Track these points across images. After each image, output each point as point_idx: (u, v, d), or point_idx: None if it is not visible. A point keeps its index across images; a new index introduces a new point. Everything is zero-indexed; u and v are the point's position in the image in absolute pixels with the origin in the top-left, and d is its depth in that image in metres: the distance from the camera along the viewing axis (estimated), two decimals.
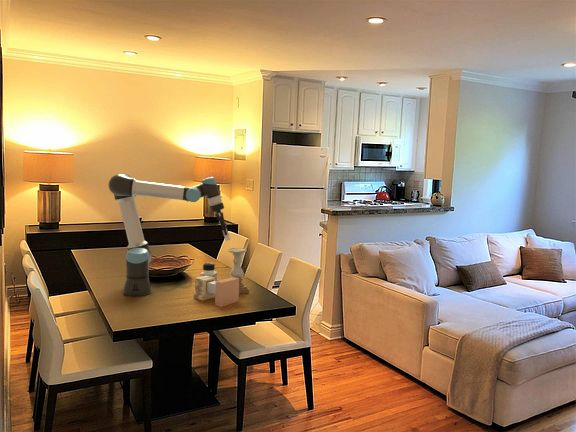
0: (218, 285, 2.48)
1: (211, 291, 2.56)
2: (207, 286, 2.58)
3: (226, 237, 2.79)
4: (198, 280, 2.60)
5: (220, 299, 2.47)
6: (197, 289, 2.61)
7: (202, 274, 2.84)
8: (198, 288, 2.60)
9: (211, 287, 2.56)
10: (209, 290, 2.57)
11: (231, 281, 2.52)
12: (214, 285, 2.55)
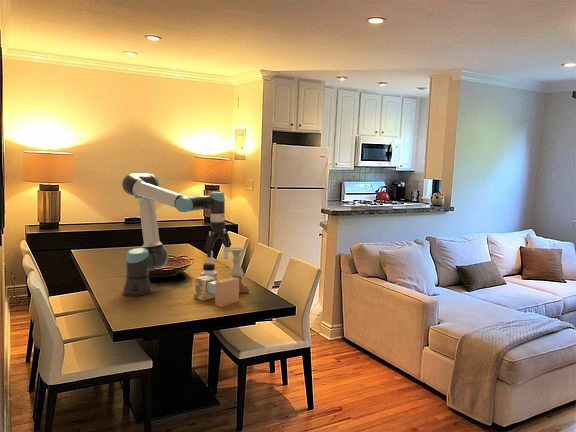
0: (218, 285, 2.48)
1: (211, 291, 2.56)
2: (207, 286, 2.58)
3: (209, 259, 2.55)
4: (198, 280, 2.60)
5: (220, 299, 2.47)
6: (197, 289, 2.61)
7: (202, 274, 2.84)
8: (198, 288, 2.60)
9: (211, 287, 2.56)
10: (209, 290, 2.57)
11: (231, 281, 2.52)
12: (214, 285, 2.55)
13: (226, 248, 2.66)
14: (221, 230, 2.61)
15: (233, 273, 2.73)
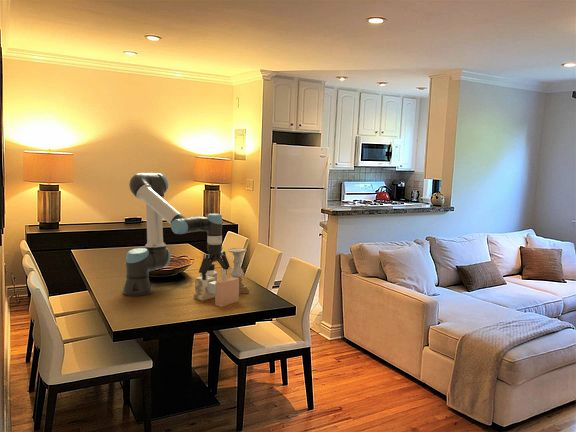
0: (218, 285, 2.48)
1: (211, 291, 2.56)
2: (207, 286, 2.58)
3: (204, 282, 2.53)
4: (198, 280, 2.60)
5: (220, 299, 2.47)
6: (197, 289, 2.61)
7: None
8: (198, 288, 2.60)
9: (211, 287, 2.56)
10: (209, 290, 2.57)
11: (231, 281, 2.52)
12: (214, 285, 2.55)
13: (224, 270, 2.62)
14: (218, 252, 2.57)
15: (233, 274, 2.72)
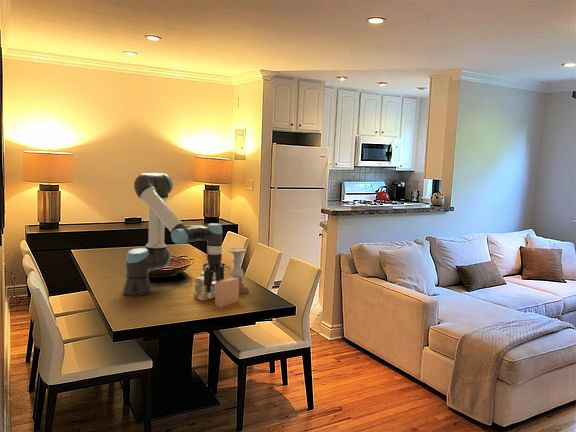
0: (218, 285, 2.48)
1: None
2: None
3: (208, 294, 2.57)
4: (198, 280, 2.60)
5: (220, 299, 2.47)
6: (197, 289, 2.61)
7: (202, 274, 2.84)
8: (198, 288, 2.60)
9: None
10: None
11: (231, 281, 2.52)
12: (214, 285, 2.55)
13: None
14: (218, 261, 2.58)
15: (233, 274, 2.72)
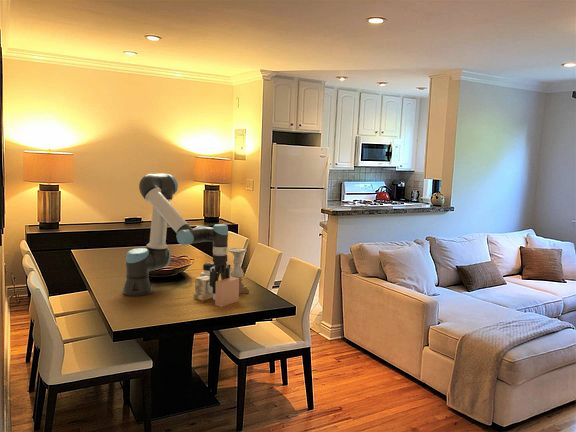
0: (218, 285, 2.48)
1: None
2: (212, 287, 2.56)
3: (214, 295, 2.54)
4: (198, 280, 2.60)
5: (220, 299, 2.47)
6: (197, 289, 2.61)
7: (202, 274, 2.84)
8: (198, 288, 2.60)
9: None
10: None
11: (231, 281, 2.52)
12: None
13: None
14: None
15: (233, 274, 2.72)
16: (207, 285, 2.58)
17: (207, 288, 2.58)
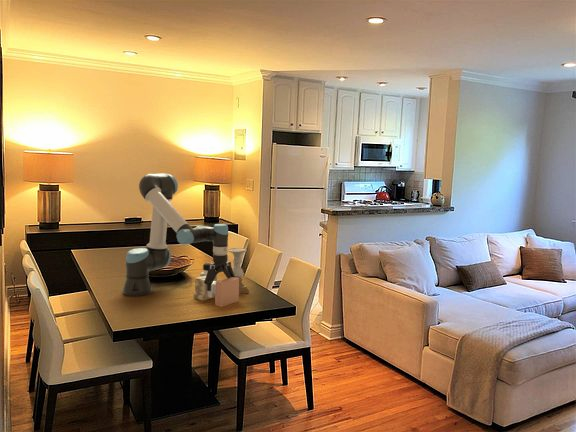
0: (218, 285, 2.48)
1: None
2: None
3: (209, 293, 2.51)
4: (198, 280, 2.60)
5: (220, 299, 2.47)
6: (197, 289, 2.61)
7: (202, 274, 2.84)
8: (198, 288, 2.60)
9: None
10: (215, 291, 2.55)
11: (231, 281, 2.52)
12: None
13: None
14: (223, 263, 2.55)
15: None
16: None
17: None
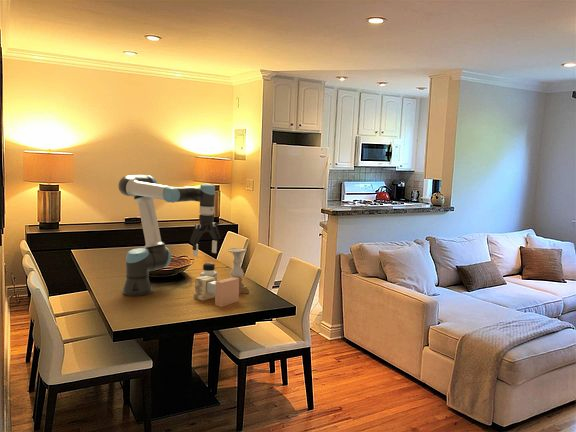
0: (218, 285, 2.48)
1: None
2: (212, 287, 2.56)
3: (194, 252, 2.52)
4: (198, 280, 2.60)
5: (220, 299, 2.47)
6: (197, 289, 2.61)
7: (202, 274, 2.84)
8: (198, 288, 2.60)
9: None
10: (215, 291, 2.55)
11: (231, 281, 2.52)
12: None
13: (214, 242, 2.62)
14: (210, 223, 2.56)
15: (233, 274, 2.72)
16: (207, 285, 2.58)
17: (207, 288, 2.58)
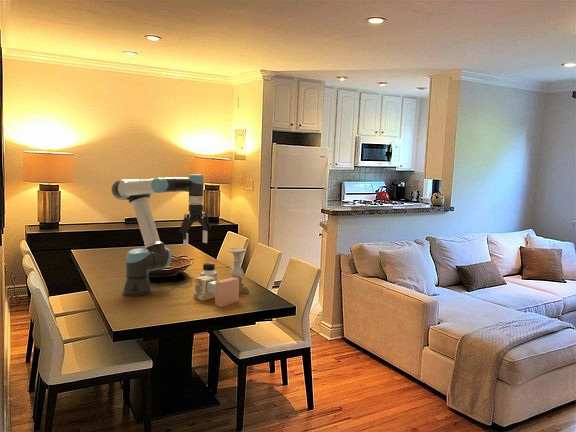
0: (218, 285, 2.48)
1: None
2: (212, 287, 2.56)
3: (184, 242, 2.53)
4: (198, 280, 2.60)
5: (220, 299, 2.47)
6: (197, 289, 2.61)
7: (202, 274, 2.84)
8: (198, 288, 2.60)
9: None
10: (215, 291, 2.55)
11: (231, 281, 2.52)
12: None
13: (205, 232, 2.63)
14: (199, 213, 2.58)
15: (233, 274, 2.72)
16: (207, 285, 2.58)
17: (207, 288, 2.58)
